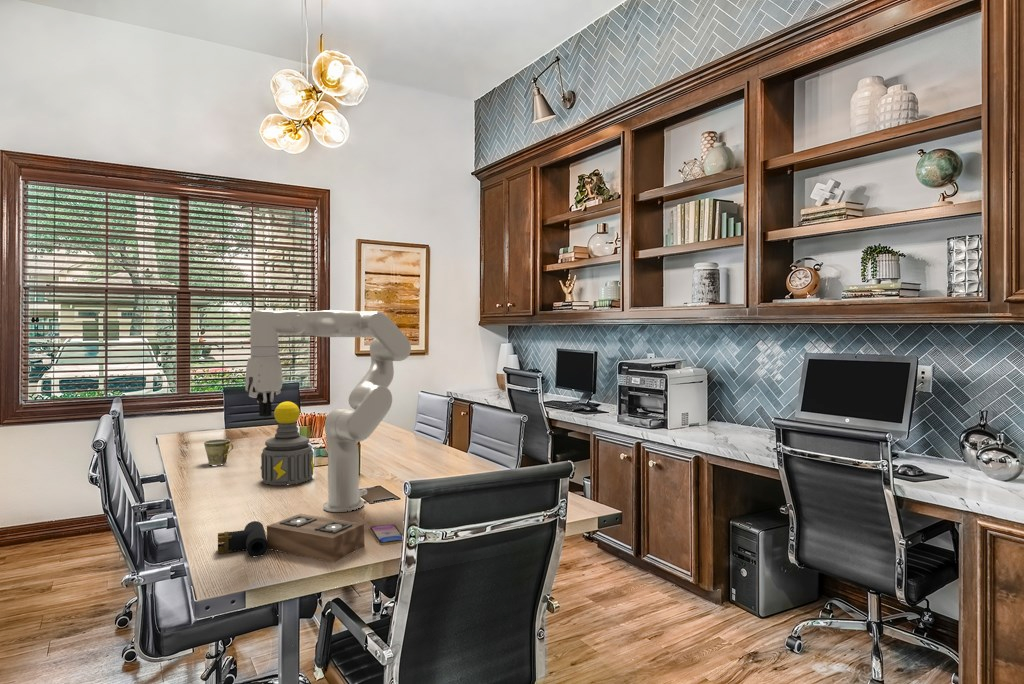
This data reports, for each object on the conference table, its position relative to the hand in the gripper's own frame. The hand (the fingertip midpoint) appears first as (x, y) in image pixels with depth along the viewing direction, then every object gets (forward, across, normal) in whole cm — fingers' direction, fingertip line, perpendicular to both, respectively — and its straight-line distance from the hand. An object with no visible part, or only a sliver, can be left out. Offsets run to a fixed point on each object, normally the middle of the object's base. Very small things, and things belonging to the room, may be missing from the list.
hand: (265, 415), depth 178 cm
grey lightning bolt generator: (+32, -43, -35) cm, 64 cm away
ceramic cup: (+32, -51, -81) cm, 101 cm away
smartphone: (+33, -8, +37) cm, 50 cm away
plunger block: (+32, +8, +26) cm, 42 cm away
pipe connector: (+33, +16, +9) cm, 38 cm away
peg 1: (+32, +8, +20) cm, 38 cm away
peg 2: (+32, +8, +32) cm, 46 cm away
